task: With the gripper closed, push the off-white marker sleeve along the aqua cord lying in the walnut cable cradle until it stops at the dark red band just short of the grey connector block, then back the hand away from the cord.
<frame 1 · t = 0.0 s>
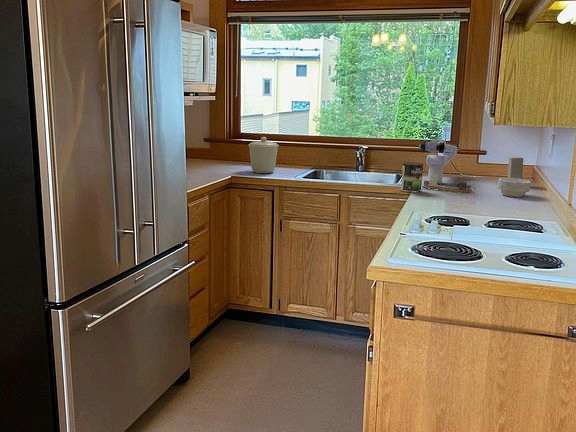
hand: (429, 147, 284), 22 cm above the worktop, tool horizontal, fingers open, 7 cm apart
skincare box: (513, 185, 306), on the worktop
coffee can: (410, 191, 282), on the worktop
marker sleeve: (433, 180, 290), point 4 cm above the worktop, slide at 0.0 cm
canister: (263, 172, 328), on the worktop
paper bowls: (512, 195, 277), on the worktop
cable cradle: (446, 189, 287), on the worktop
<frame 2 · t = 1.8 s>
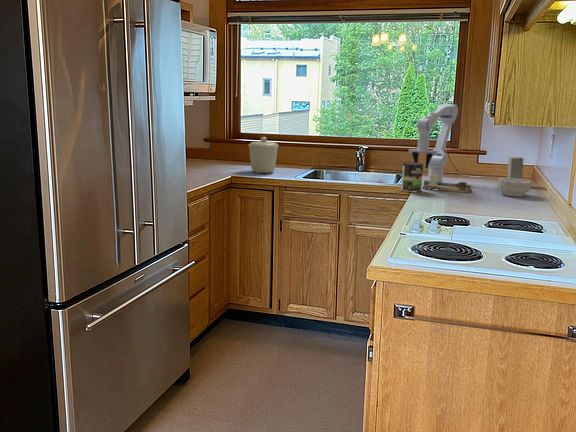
hand: (421, 167, 291), 10 cm above the worktop, tool pointing down, fingers open, 5 cm apart
nothing on the worktop moved.
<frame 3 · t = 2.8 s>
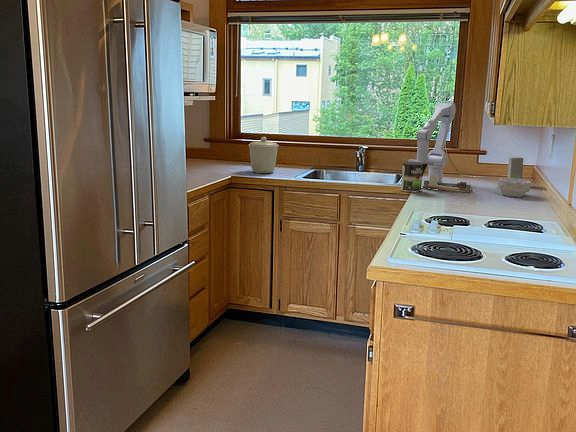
hand: (420, 177, 293), 5 cm above the worktop, tool pointing down, fingers closed
nothing on the worktop moved.
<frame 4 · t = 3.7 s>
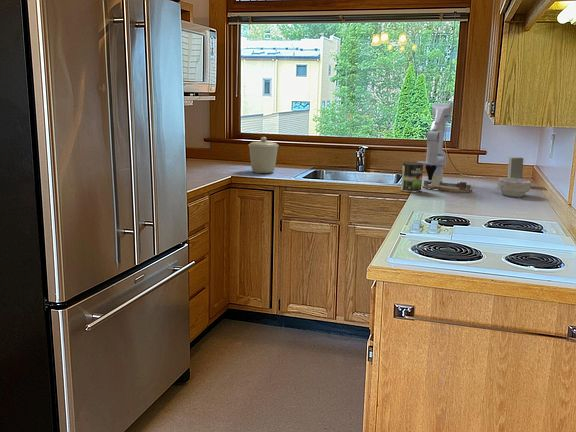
hand: (430, 179, 290), 4 cm above the worktop, tool pointing down, fingers closed
marker sleeve: (436, 180, 289), point 4 cm above the worktop, slide at 1.5 cm, touching gripper
everything else where it was.
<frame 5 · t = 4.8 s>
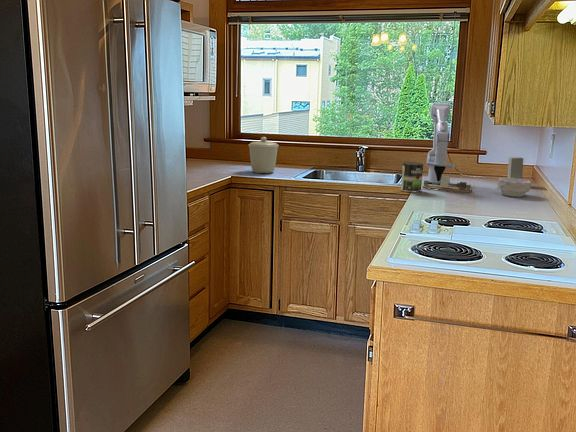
hand: (438, 180, 288), 4 cm above the worktop, tool pointing down, fingers closed
marker sleeve: (445, 181, 287), point 4 cm above the worktop, slide at 6.0 cm, touching gripper
everything else where it was.
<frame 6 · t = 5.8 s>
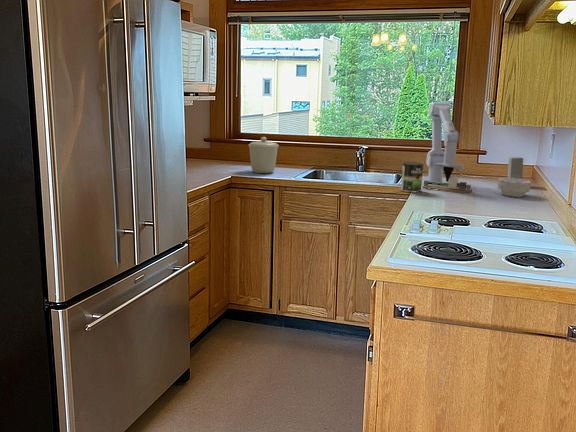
hand: (447, 181, 286), 4 cm above the worktop, tool pointing down, fingers closed
marker sleeve: (453, 182, 285), point 4 cm above the worktop, slide at 10.2 cm, touching cable cradle, gripper
everything else where it was.
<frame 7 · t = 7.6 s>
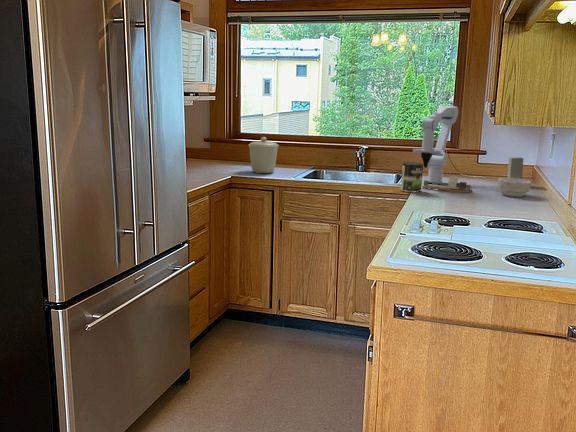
hand: (425, 167, 292), 10 cm above the worktop, tool pointing down, fingers closed
marker sleeve: (453, 182, 285), point 4 cm above the worktop, slide at 10.1 cm
everything else where it was.
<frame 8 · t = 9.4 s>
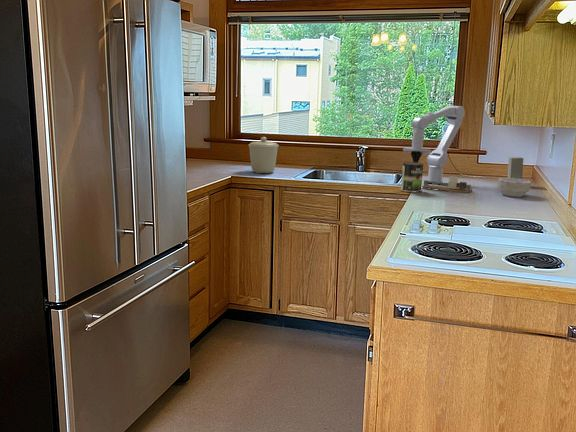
hand: (415, 165, 296), 10 cm above the worktop, tool pointing down, fingers closed
nothing on the worktop moved.
at the end: marker sleeve slide at 10.1 cm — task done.
